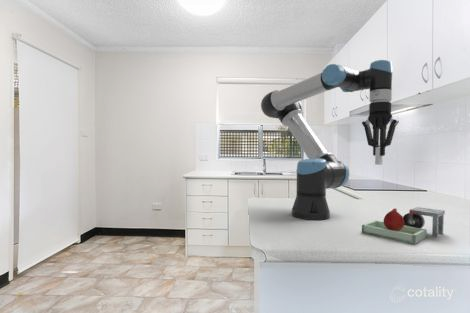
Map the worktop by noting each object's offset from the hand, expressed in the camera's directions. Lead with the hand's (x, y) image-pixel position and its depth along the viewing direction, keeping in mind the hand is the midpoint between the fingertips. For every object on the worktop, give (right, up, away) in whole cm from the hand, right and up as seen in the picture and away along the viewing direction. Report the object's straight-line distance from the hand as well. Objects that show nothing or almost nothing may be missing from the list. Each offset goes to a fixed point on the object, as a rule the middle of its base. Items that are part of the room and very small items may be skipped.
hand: (378, 164), depth 112 cm
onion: (-4, -22, -18) cm, 28 cm away
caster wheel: (+8, -22, -14) cm, 27 cm away
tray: (-4, -22, -18) cm, 29 cm away
